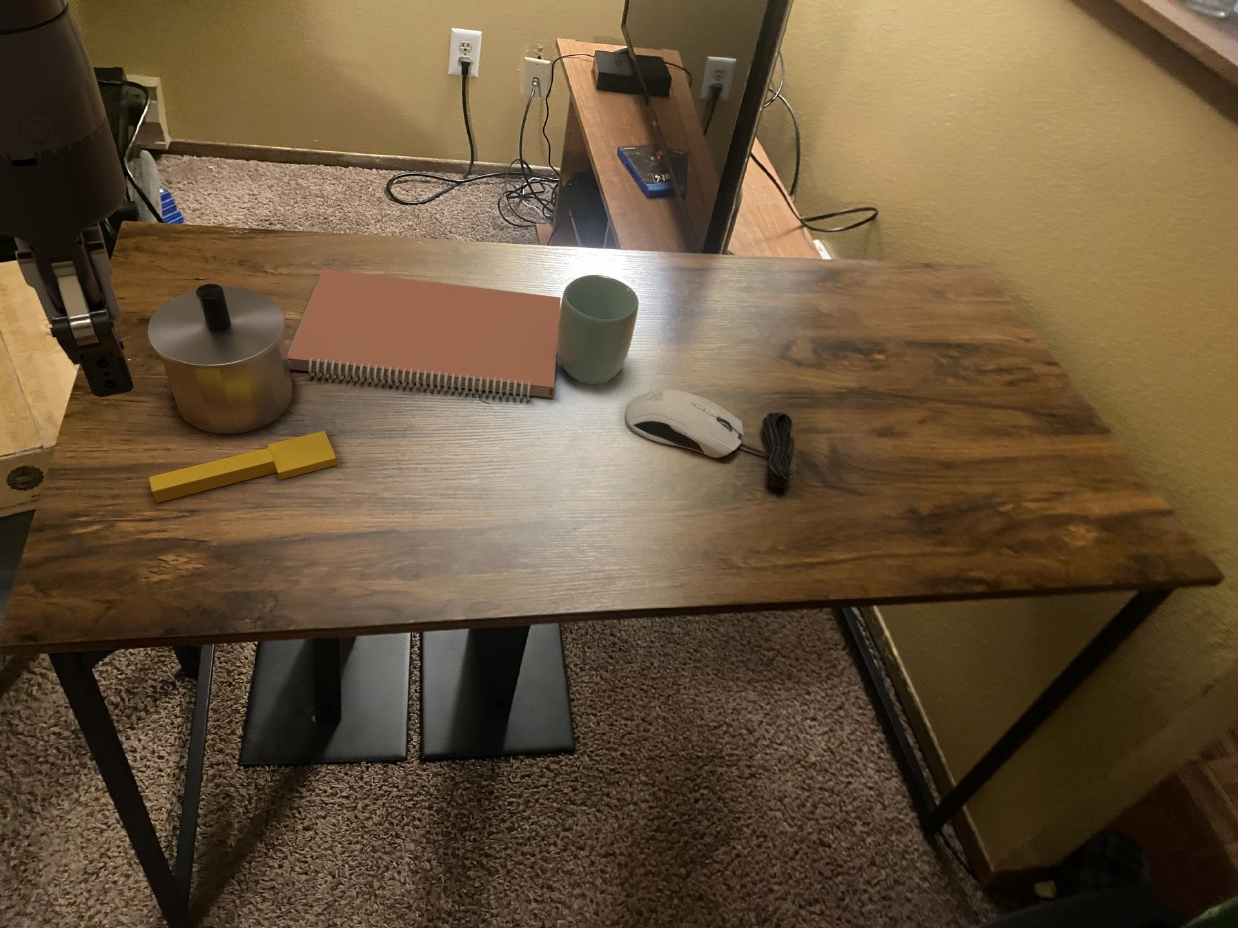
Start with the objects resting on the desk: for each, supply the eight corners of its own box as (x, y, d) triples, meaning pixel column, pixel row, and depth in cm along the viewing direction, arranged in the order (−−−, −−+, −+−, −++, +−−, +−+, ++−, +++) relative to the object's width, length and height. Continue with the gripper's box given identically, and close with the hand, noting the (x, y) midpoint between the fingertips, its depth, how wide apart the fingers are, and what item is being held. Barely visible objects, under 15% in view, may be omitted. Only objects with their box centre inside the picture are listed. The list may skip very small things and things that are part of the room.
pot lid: (162, 387, 71) (148, 344, 67) (140, 308, 77) (126, 265, 74) (301, 359, 76) (294, 317, 72) (269, 286, 82) (262, 245, 78)
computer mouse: (635, 385, 92) (641, 358, 89) (795, 433, 91) (807, 406, 88) (611, 445, 85) (617, 418, 82) (784, 498, 84) (796, 471, 81)
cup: (637, 369, 94) (652, 296, 87) (599, 405, 89) (612, 331, 82) (580, 338, 96) (591, 265, 89) (540, 372, 91) (548, 297, 84)
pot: (189, 446, 77) (166, 377, 71) (168, 374, 83) (146, 305, 76) (304, 418, 81) (293, 351, 75) (277, 353, 87) (264, 285, 81)
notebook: (284, 377, 85) (282, 362, 83) (324, 281, 96) (322, 266, 95) (551, 406, 88) (553, 392, 86) (559, 309, 99) (560, 295, 98)
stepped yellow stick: (158, 511, 72) (153, 499, 70) (151, 480, 74) (146, 468, 72) (337, 465, 78) (335, 453, 77) (325, 437, 80) (324, 426, 79)
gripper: (-93, 51, 40) (30, 334, 53) (-86, 190, 33) (55, 479, 46) (84, 45, 44) (160, 312, 56) (125, 170, 37) (203, 445, 49)
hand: (113, 387), depth 51 cm, fingers closed
